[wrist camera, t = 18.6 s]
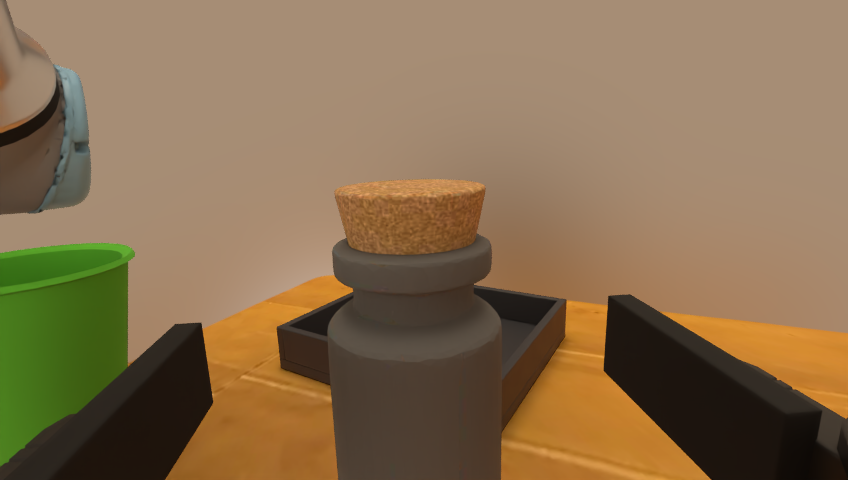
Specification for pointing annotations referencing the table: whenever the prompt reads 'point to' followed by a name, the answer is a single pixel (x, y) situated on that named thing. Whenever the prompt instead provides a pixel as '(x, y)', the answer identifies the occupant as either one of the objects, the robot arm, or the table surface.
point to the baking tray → (519, 312)
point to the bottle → (415, 335)
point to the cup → (58, 333)
